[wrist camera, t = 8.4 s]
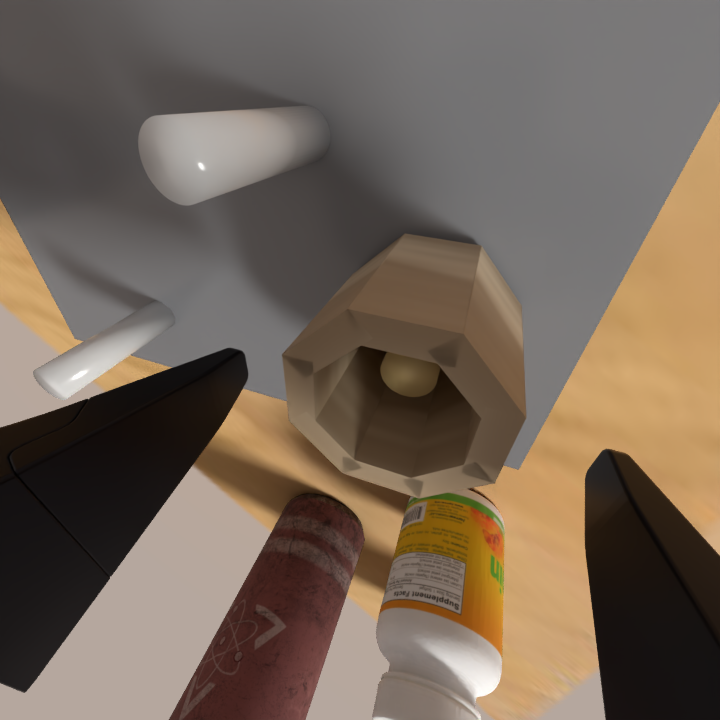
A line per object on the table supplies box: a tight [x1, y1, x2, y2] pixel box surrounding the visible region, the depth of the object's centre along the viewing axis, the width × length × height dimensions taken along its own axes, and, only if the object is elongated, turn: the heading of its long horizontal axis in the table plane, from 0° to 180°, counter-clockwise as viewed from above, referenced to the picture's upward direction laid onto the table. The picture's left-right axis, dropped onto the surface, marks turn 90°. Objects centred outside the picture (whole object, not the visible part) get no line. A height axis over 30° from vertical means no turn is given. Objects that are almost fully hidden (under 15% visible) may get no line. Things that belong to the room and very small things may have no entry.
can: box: [169, 494, 365, 720], centre depth 21 cm, size 6×6×14 cm
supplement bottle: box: [373, 489, 504, 720], centre depth 17 cm, size 5×5×10 cm
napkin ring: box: [282, 234, 526, 498], centre depth 10 cm, size 6×6×5 cm
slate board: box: [0, 0, 720, 470], centre depth 12 cm, size 25×15×7 cm, turn 86°
